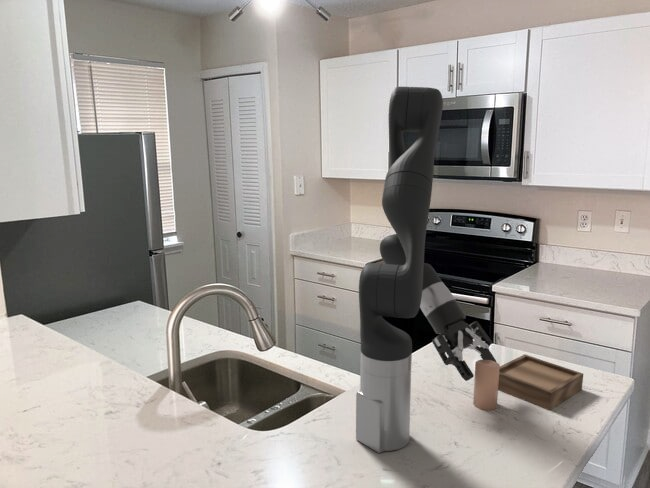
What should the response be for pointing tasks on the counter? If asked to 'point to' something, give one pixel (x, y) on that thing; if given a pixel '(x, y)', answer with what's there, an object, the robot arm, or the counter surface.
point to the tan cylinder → (486, 384)
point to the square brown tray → (539, 381)
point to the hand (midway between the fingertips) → (482, 373)
